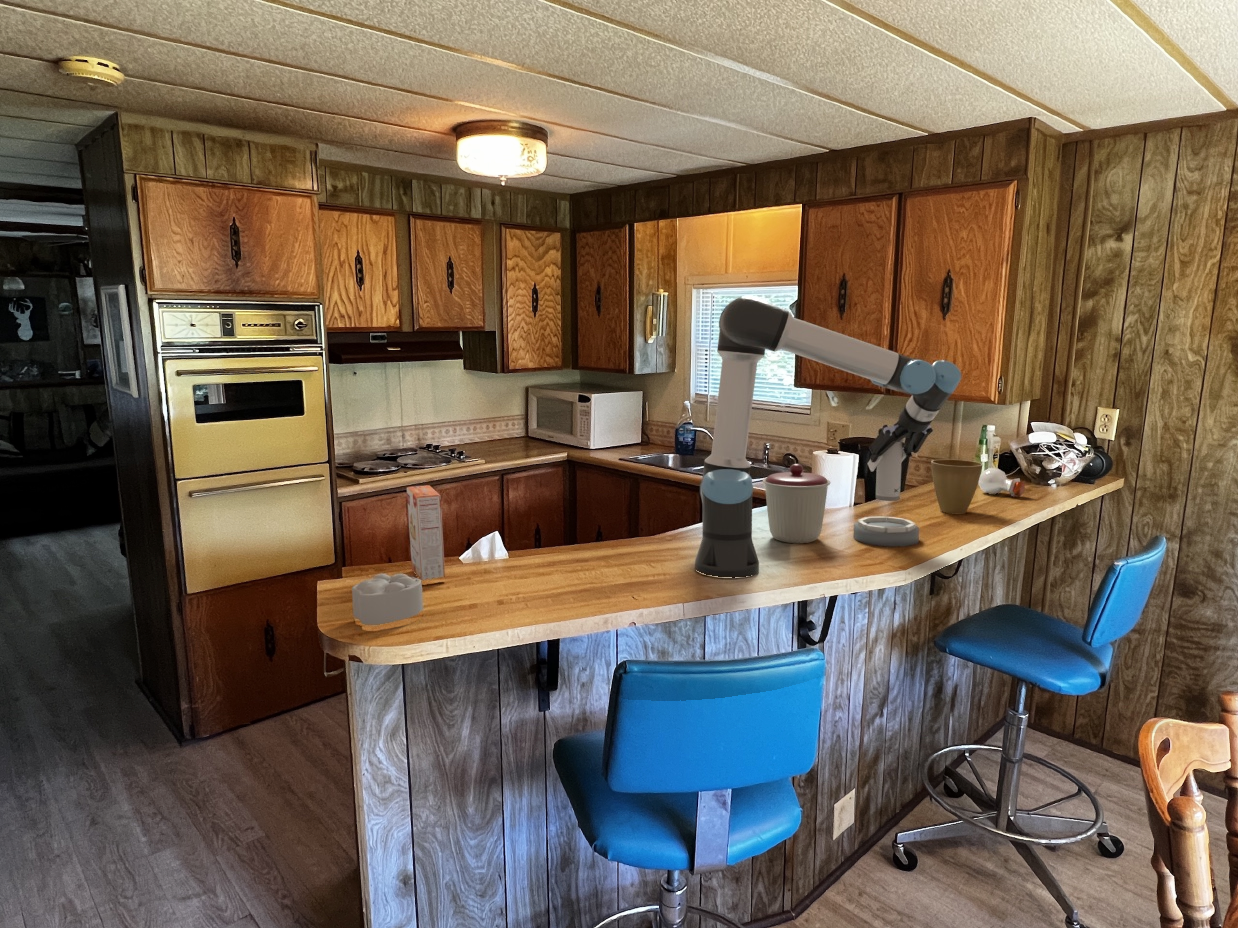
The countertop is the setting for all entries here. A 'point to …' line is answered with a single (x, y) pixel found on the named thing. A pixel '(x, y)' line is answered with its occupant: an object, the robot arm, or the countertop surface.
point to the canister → (796, 504)
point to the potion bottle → (1000, 483)
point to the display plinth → (886, 531)
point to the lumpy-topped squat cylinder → (387, 599)
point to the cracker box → (425, 532)
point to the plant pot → (955, 483)
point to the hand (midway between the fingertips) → (881, 466)
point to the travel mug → (889, 473)
